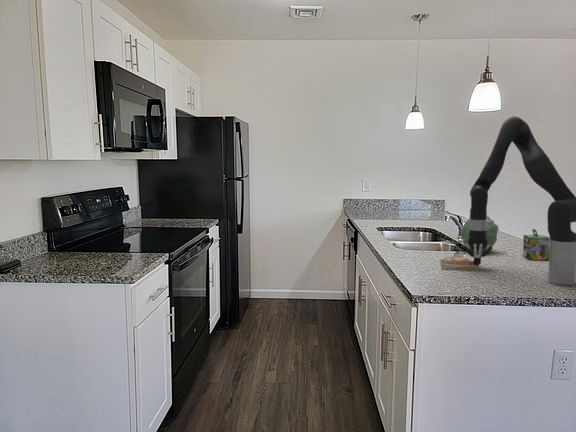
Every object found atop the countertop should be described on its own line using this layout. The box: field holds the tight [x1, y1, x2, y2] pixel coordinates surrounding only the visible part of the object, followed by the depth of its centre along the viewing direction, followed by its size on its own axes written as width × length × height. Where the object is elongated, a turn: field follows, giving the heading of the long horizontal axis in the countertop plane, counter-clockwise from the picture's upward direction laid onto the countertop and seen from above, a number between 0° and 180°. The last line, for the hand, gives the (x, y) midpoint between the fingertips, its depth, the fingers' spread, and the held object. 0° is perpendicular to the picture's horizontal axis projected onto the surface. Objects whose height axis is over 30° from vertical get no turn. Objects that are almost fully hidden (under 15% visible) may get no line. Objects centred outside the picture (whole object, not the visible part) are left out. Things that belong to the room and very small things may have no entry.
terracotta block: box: [453, 257, 470, 265], centre depth 195 cm, size 6×6×4 cm
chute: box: [440, 258, 480, 272], centre depth 195 cm, size 12×16×2 cm
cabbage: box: [460, 215, 499, 254], centre depth 224 cm, size 16×19×20 cm
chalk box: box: [522, 228, 550, 261], centre depth 206 cm, size 9×9×15 cm
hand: (477, 265), depth 193 cm, fingers closed
